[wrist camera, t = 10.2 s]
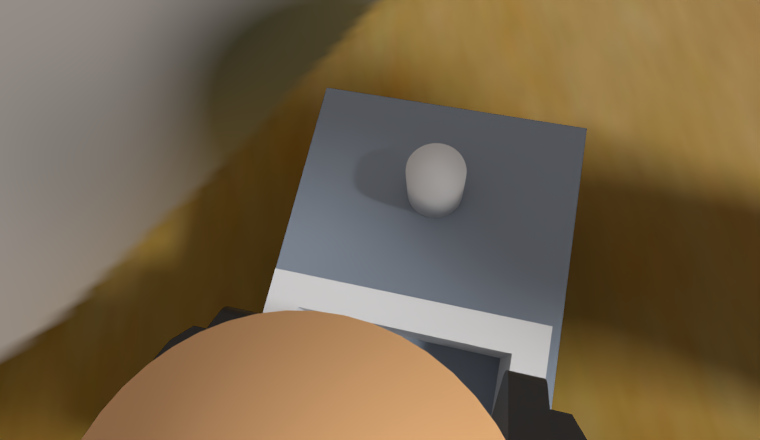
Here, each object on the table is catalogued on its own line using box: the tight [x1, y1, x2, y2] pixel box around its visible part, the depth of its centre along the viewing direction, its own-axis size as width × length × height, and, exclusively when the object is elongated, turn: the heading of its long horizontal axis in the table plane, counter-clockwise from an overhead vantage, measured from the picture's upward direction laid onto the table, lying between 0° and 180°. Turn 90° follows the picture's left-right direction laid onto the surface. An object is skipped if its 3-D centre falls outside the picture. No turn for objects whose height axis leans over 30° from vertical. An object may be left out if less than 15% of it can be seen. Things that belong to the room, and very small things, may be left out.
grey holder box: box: [263, 88, 587, 417], centre depth 20 cm, size 10×20×10 cm, turn 167°
